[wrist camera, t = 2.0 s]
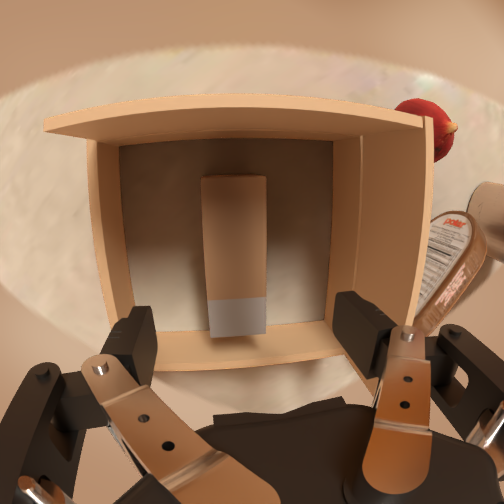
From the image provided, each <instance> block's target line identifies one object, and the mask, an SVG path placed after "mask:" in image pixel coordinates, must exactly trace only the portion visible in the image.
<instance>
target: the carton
mask: <svg viewBox="0 0 504 504" xmlns="http://www.w3.org/2000/svg"><path fill="white" fill-rule="evenodd" d="M44 132H49V133H55V134H62V135H68V136H73V137H79V138H85V139H87V173H88V190H89V203H90V213H91V223H92V231H93V239H94V246H95V253H96V259H97V265H98V271H99V276H100V282H101V287H102V292H103V297H104V301H105V306H106V310H107V314H108V319H109V323H110V327H111V330H112V328H113V326H114V324H115V323H116V322H118V321H119V320H120V319H121V318H128V316H129V314H130V311H131V309H132V307H133V306H135V302H134V297H133V291H132V285H131V279H130V272H129V265H128V258H127V251H126V243H125V234H124V224H123V214H122V202H121V187H120V166H119V146H126V145H134V144H143V143H153V142H164V141H177V140H193V139H215V138H286V139H308V140H324V141H333V203H332V227H331V246H330V261H329V274H328V286H327V297H326V307H325V317H324V320H320V321H312V322H303V323H294V324H284V325H274V326H266V334H258V335H246V336H232V337H216V338H211V337H210V330H204V331H179V332H156V335H157V342H158V351H157V356H156V361H155V366H154V371H196V370H217V369H232V368H245V367H256V366H266V365H275V364H284V363H292V362H299V361H306V360H313V359H319V358H326V357H332V356H337V355H343V354H344V355H345V356H346V357H347V359H348V360H349V362H350V363H351V365H352V366H353V368H354V369H355V371H356V372H357V374H358V375H359V377H360V378H361V380H362V381H363V382H364V384H365V385H366V387H367V388H368V390H369V391H370V392H371V394H372V396H373V397H374V394H375V390H376V386H377V383H378V380H379V378H378V377H376V378H372V379H368V380H366V378H365V377H364V376H363V374H362V373H361V372H360V370H359V369H358V367H357V366H356V365H355V363H354V362H353V361H352V359H351V358H350V356H349V355H348V354H347V352H346V351H345V350H344V348H343V347H342V345H341V344H340V343H339V341H338V340H337V339H336V337H335V336H334V333H333V330H332V320H333V312H334V303H335V296H336V294H337V292H344V291H352V290H353V291H355V292H356V293H357V294H358V295H359V296H360V297H362V298H363V299H365V300H367V301H369V302H371V303H374V304H375V305H376V306H377V307H378V308H379V309H380V310H382V311H383V312H384V313H385V314H386V315H387V316H388V317H389V318H391V319H392V320H393V321H394V322H395V323H396V324H397V325H398V326H400V325H409V326H412V324H413V320H414V316H415V312H416V307H417V303H418V298H419V293H420V288H421V283H422V278H423V272H424V266H425V260H426V253H427V246H428V239H429V230H430V221H431V210H432V197H433V176H434V131H433V118H431V117H428V116H417V115H413V114H409V113H405V112H400V111H396V110H391V109H386V108H381V107H376V106H371V105H365V104H359V103H353V102H346V101H339V100H332V99H323V98H314V97H303V96H291V95H274V94H198V95H181V96H169V97H159V98H149V99H141V100H134V101H127V102H120V103H114V104H108V105H103V106H97V107H92V108H87V109H83V110H78V111H74V112H69V113H65V114H61V115H57V116H53V117H50V118H46V119H44Z"/></svg>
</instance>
